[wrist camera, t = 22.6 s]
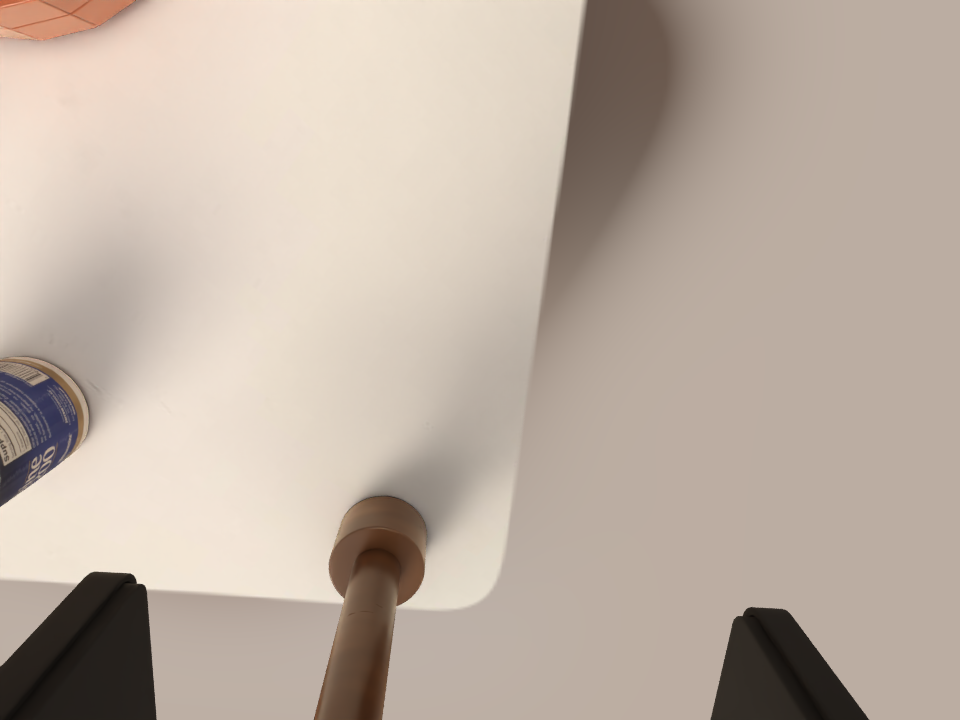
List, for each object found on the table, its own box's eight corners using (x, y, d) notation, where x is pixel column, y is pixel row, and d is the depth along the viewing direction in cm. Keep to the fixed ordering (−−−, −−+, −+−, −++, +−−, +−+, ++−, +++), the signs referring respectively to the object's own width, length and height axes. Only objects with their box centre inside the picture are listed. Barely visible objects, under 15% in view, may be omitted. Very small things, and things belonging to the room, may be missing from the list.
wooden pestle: (426, 495, 32) (404, 789, 16) (427, 572, 33) (407, 916, 17) (337, 495, 31) (229, 795, 16) (341, 573, 33) (243, 922, 17)
